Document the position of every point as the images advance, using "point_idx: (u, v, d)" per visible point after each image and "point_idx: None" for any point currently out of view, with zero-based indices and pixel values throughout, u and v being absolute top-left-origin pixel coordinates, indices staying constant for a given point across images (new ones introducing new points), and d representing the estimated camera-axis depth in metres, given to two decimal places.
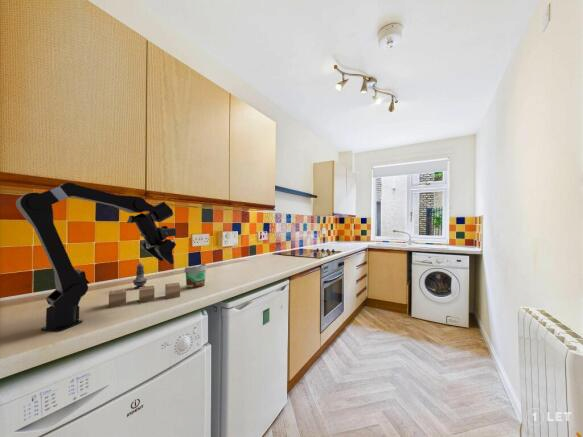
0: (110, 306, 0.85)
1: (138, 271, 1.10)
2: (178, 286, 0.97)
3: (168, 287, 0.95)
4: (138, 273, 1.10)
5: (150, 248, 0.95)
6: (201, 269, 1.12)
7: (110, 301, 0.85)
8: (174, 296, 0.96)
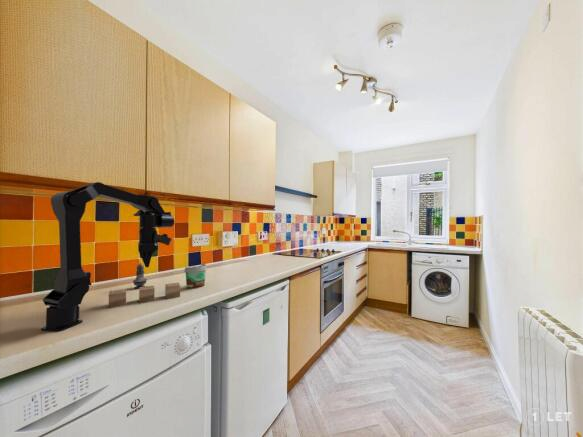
0: (110, 306, 0.85)
1: (138, 271, 1.10)
2: (178, 286, 0.97)
3: (168, 287, 0.95)
4: (138, 273, 1.10)
5: None
6: (201, 269, 1.12)
7: (110, 301, 0.85)
8: (174, 296, 0.96)
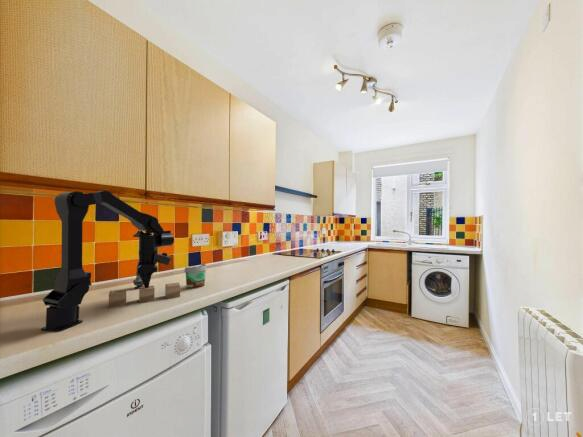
0: (110, 306, 0.85)
1: None
2: (178, 286, 0.97)
3: (168, 287, 0.95)
4: None
5: None
6: (201, 269, 1.12)
7: (110, 301, 0.85)
8: (174, 296, 0.96)
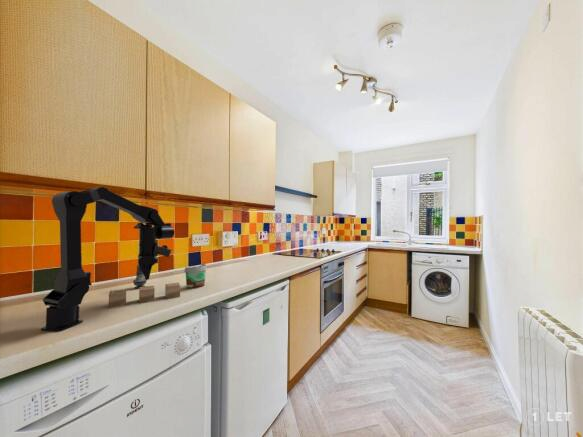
0: (110, 306, 0.85)
1: (138, 271, 1.10)
2: (178, 286, 0.97)
3: (168, 287, 0.95)
4: (138, 273, 1.10)
5: None
6: (201, 269, 1.12)
7: (110, 301, 0.85)
8: (174, 296, 0.96)
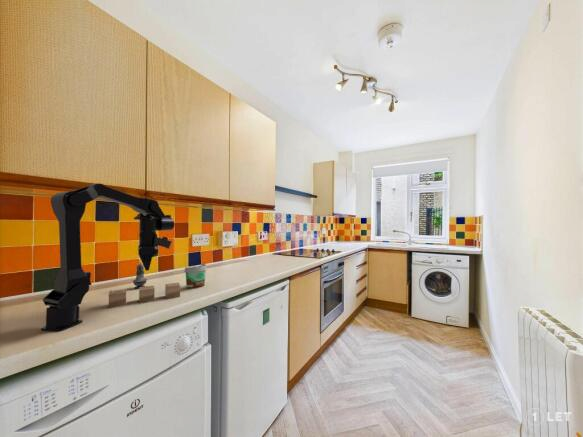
0: (110, 306, 0.85)
1: (138, 271, 1.10)
2: (178, 286, 0.97)
3: (168, 287, 0.95)
4: (138, 273, 1.10)
5: None
6: (201, 269, 1.12)
7: (110, 301, 0.85)
8: (174, 296, 0.96)
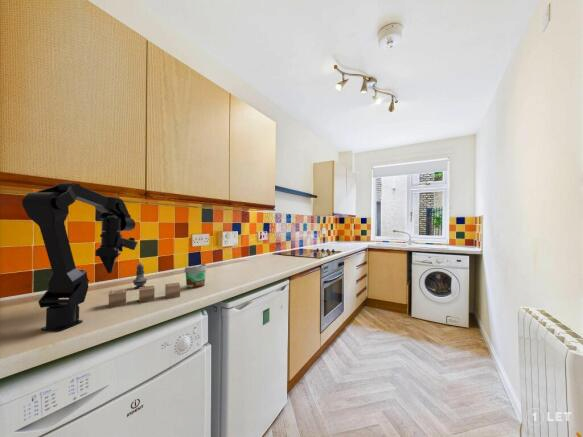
0: (110, 306, 0.85)
1: (138, 271, 1.10)
2: (178, 286, 0.97)
3: (168, 287, 0.95)
4: (138, 273, 1.10)
5: None
6: (201, 269, 1.12)
7: (110, 301, 0.85)
8: (174, 296, 0.96)
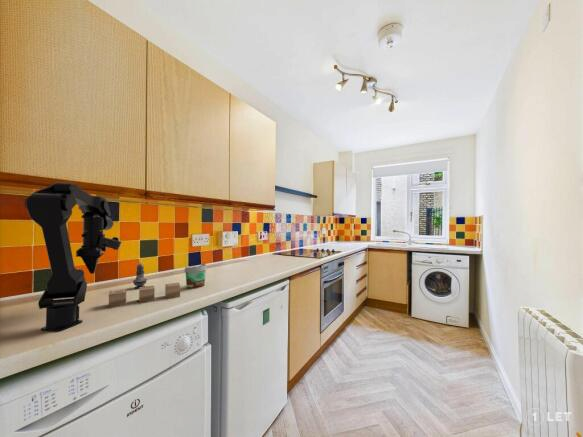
0: (110, 306, 0.85)
1: (138, 271, 1.10)
2: (178, 286, 0.97)
3: (168, 287, 0.95)
4: (138, 273, 1.10)
5: None
6: (201, 269, 1.12)
7: (110, 301, 0.85)
8: (174, 296, 0.96)
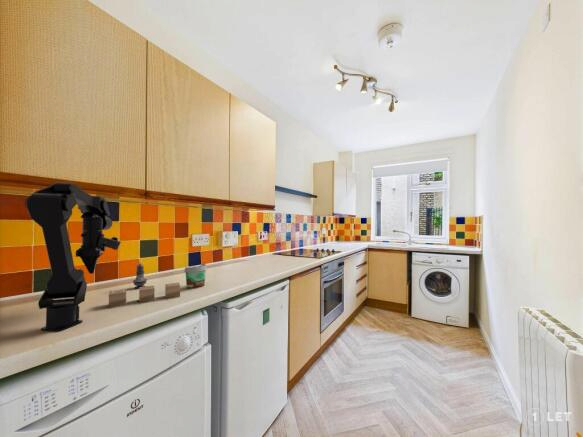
0: (110, 306, 0.85)
1: (138, 271, 1.10)
2: (178, 286, 0.97)
3: (168, 287, 0.95)
4: (138, 273, 1.10)
5: None
6: (201, 269, 1.12)
7: (110, 301, 0.85)
8: (174, 296, 0.96)
